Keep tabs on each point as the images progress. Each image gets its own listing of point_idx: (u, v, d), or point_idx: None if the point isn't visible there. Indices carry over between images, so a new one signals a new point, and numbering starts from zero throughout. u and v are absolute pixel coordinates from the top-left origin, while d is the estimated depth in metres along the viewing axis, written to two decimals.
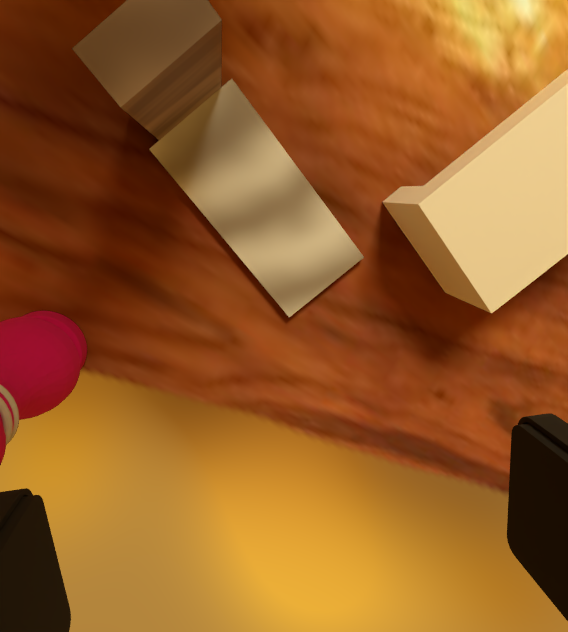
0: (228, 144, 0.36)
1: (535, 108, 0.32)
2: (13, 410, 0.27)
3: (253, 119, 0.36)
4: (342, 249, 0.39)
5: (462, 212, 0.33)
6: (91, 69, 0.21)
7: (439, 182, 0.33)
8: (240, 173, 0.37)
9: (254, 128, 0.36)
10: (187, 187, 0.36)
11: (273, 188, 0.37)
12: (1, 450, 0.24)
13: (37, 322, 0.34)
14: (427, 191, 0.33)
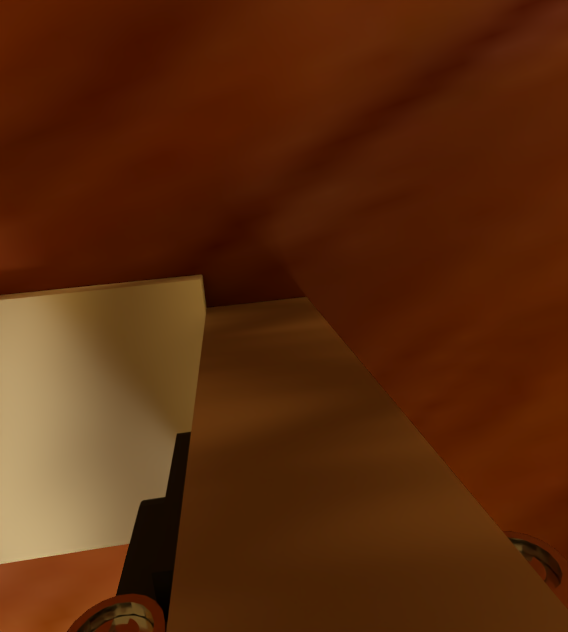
0: (106, 452, 0.14)
1: None
2: None
3: (129, 528, 0.15)
4: None
5: None
6: None
7: None
8: (24, 443, 0.13)
9: (109, 522, 0.14)
10: (59, 308, 0.13)
11: None
12: None
13: None
14: None
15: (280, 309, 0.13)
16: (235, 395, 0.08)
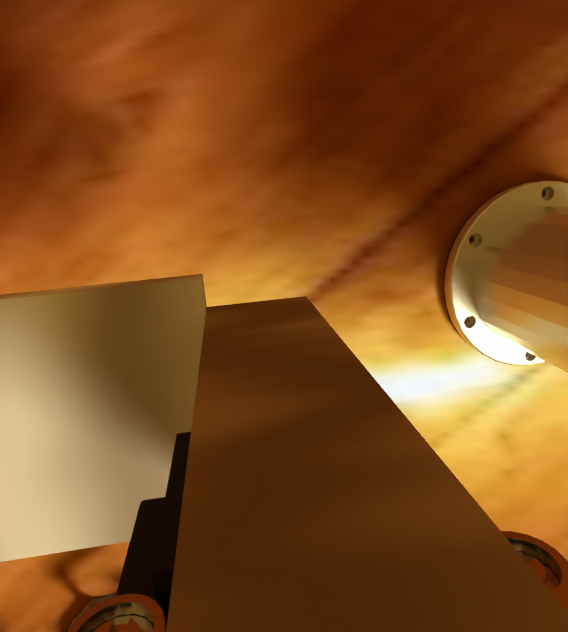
0: (107, 451, 0.14)
1: None
2: None
3: (130, 526, 0.15)
4: None
5: None
6: None
7: None
8: (26, 442, 0.14)
9: (110, 520, 0.15)
10: (60, 307, 0.13)
11: None
12: None
13: None
14: None
15: (280, 308, 0.13)
16: (234, 393, 0.08)
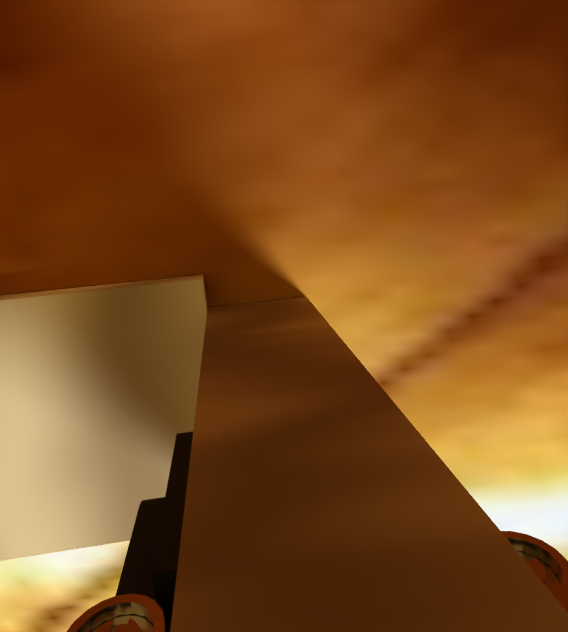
0: (109, 450, 0.14)
1: None
2: None
3: (131, 525, 0.15)
4: None
5: None
6: None
7: None
8: (28, 441, 0.14)
9: (112, 519, 0.15)
10: (62, 308, 0.13)
11: None
12: None
13: None
14: None
15: (281, 309, 0.13)
16: (236, 393, 0.08)
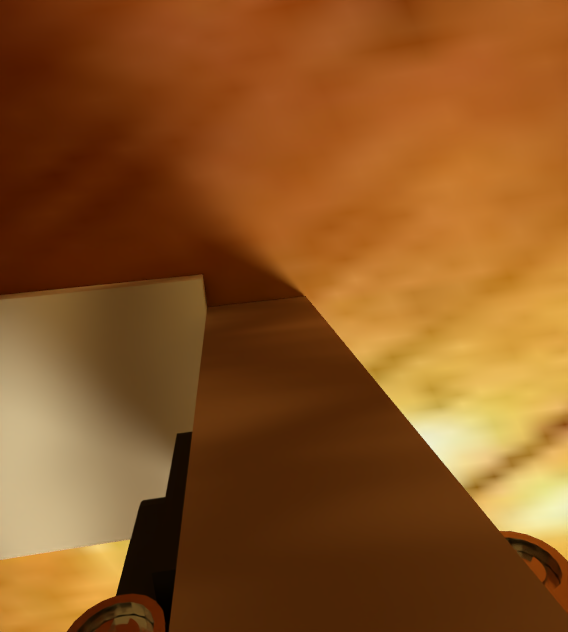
0: (109, 449, 0.14)
1: None
2: None
3: (131, 524, 0.15)
4: None
5: None
6: None
7: None
8: (28, 441, 0.14)
9: (111, 518, 0.15)
10: (62, 307, 0.13)
11: None
12: None
13: None
14: None
15: (280, 308, 0.13)
16: (235, 392, 0.08)
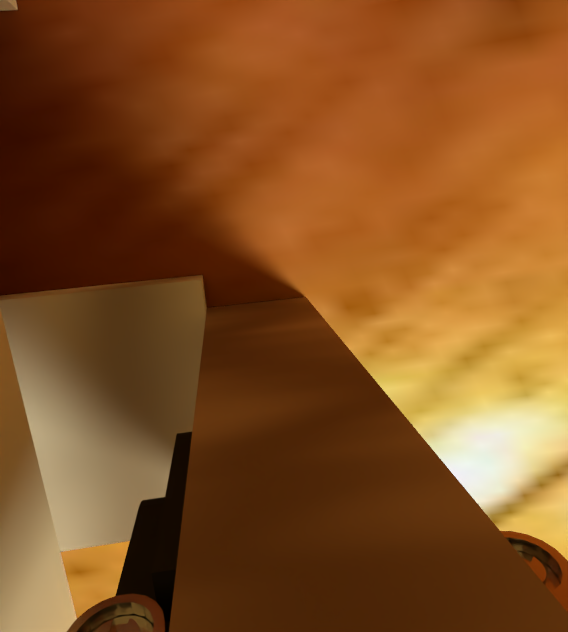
0: (108, 451, 0.14)
1: None
2: None
3: (130, 526, 0.15)
4: None
5: None
6: None
7: None
8: None
9: (111, 519, 0.15)
10: (61, 308, 0.13)
11: None
12: None
13: None
14: None
15: (280, 309, 0.13)
16: (235, 393, 0.08)
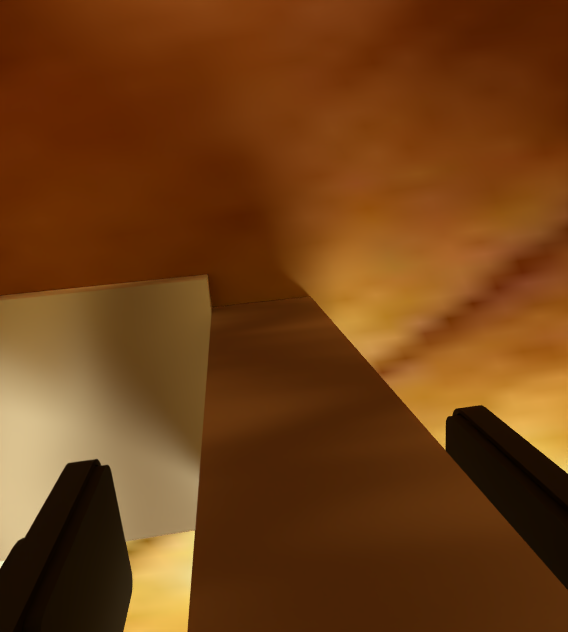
0: (113, 450, 0.14)
1: None
2: None
3: (135, 525, 0.15)
4: None
5: None
6: None
7: None
8: (33, 441, 0.14)
9: None
10: (67, 307, 0.13)
11: None
12: None
13: None
14: None
15: (285, 308, 0.13)
16: (244, 392, 0.08)
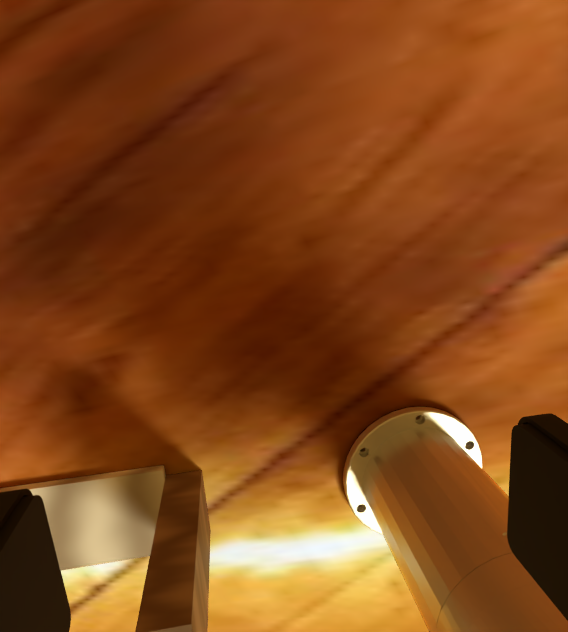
0: (130, 526, 0.40)
1: None
2: None
3: (138, 552, 0.41)
4: None
5: None
6: (171, 628, 0.26)
7: None
8: (103, 524, 0.39)
9: (131, 550, 0.40)
10: (116, 481, 0.39)
11: (75, 542, 0.39)
12: None
13: None
14: None
15: (189, 479, 0.39)
16: (164, 526, 0.34)
